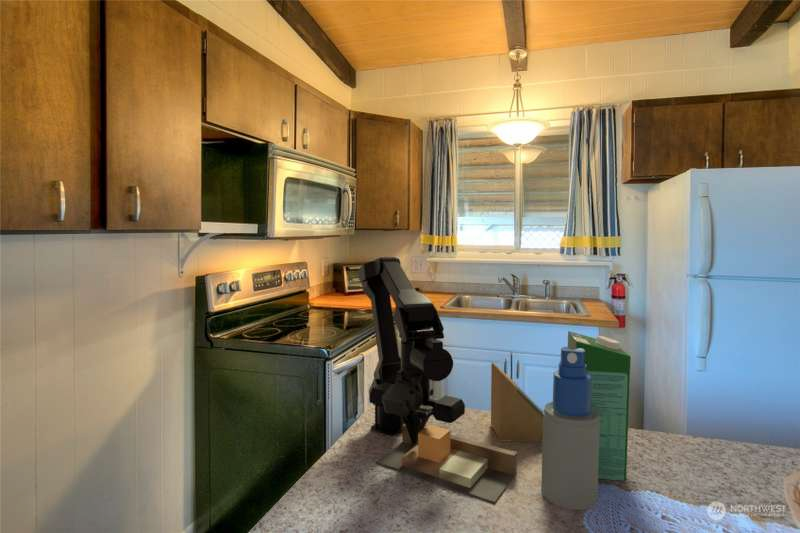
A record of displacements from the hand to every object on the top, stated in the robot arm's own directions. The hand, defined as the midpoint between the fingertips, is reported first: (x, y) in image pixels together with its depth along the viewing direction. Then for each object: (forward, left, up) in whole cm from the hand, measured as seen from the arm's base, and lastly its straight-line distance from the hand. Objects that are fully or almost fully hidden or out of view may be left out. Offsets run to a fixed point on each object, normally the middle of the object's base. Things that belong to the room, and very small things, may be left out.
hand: (415, 443), depth 87 cm
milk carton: (+30, +16, -3) cm, 34 cm away
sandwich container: (+15, +24, -4) cm, 29 cm away
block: (+4, 0, -1) cm, 4 cm away
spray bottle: (+28, +4, -3) cm, 28 cm away
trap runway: (+6, 0, -3) cm, 7 cm away
